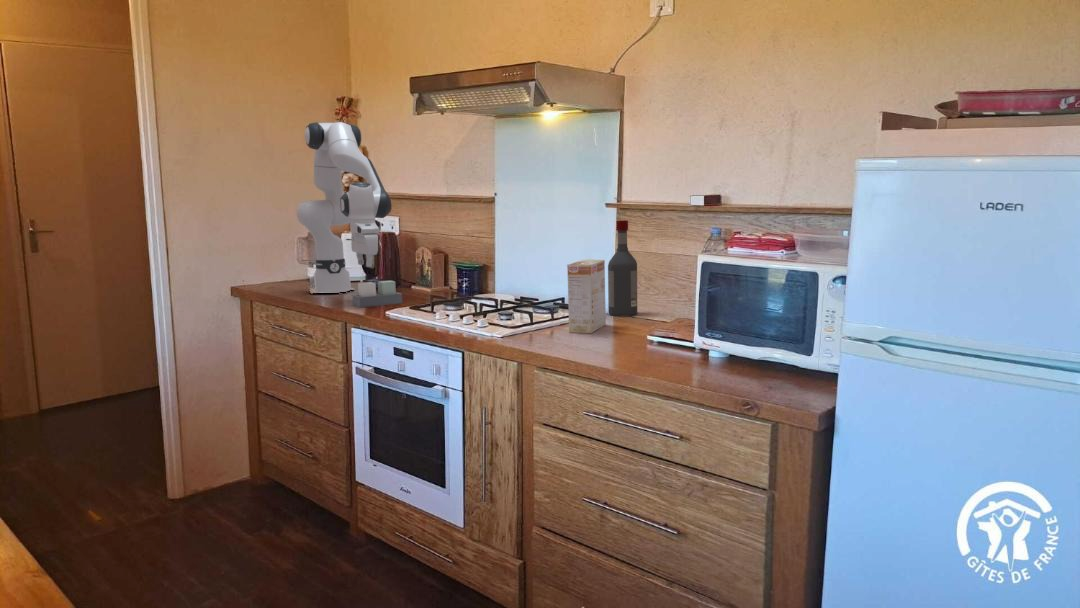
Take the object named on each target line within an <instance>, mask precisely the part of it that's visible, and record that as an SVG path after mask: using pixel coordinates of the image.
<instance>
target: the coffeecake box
mask: <svg viewBox="0 0 1080 608" xmlns="http://www.w3.org/2000/svg"><path fill="white" fill-rule="evenodd" d="M605 260H606V259H589V258H588V259H587V258H586V259H581V260H578V261H575V262H571V263H569V264H566V267H567V297H568V304H567V305H568V333H572V334H573V333H575V334H592V333H594V332H595V331H597V330H599V329H601V328H603V327H604V326H606V325H607V321H606V317H607V316H606V275H605V274H606V271H605V269H606V267H605V266H606V265H605V263H606V262H605Z"/></svg>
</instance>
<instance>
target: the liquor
mask: <svg viewBox="0 0 1080 608" xmlns="http://www.w3.org/2000/svg"><path fill="white" fill-rule="evenodd" d="M615 222H616V224H615V225H616V226H615V227H616V231H617V248H616V252H615V253H614V254H613V255H612V257H611V258H610V260H609V261H608V263H607V264H608V265H607V291H608V292H607V295H608V299H607V301H608V308H607V309H608V314H609V316H613V317H632V316H637V314H638V262H637V260H636V258H635V257H634V256H633V255H632V254H631V252H630V251H629V248H628V231H629V220H616V221H615Z"/></svg>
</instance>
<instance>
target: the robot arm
mask: <svg viewBox="0 0 1080 608" xmlns="http://www.w3.org/2000/svg"><path fill="white" fill-rule="evenodd" d="M304 141H305V144H306V145H307V146H308V148H310V149H312V150H314V156H313V184H314V185H315V187H316V189H318V190H320V191H322V192H323V193H324V197H325V199H312V200H308V201H304V202H301V203H299V205H298V207H297V209H296V217H297V220H298V222H299V223H300V224H301V225H302V226H304V227H305V228H306V229H307V230H308V231H309V233H310V234H311V236H312V238H313V241H314V246H315V254H316V260H315V272H314V274H313V276H311V278H309V284H310V285H311V286H312V287H311V288H315V291H318V292H341V291H348V290H350V289H354V290H355V288H354V287H352V285H351V277H350V272H349V270H347V268H346V259H345V258H344V256H345V255H344V243H343V240H342V239H341V237H339V236H338V235H335V234H334V233H333V232H332V230H331V227H335V226H336V227H337V226H339V227H340V226H346V225H350V233H351V235H350V236H351V237H350V241H351V243H350V245H351V247H350V248H351V251H352V252H354V253H355V254H356V258H357V264H358V265H360V266H361V265H362V266H363V265H364V264H365V267H367V268H372V267H373V260H374V256H376V255H378V253H379V233H380V228H379V226H378V225H377V223H376V219H384V218H385V217H387V216H388V215H389V214H390V213H391V211H392V207H393V206H392V201H391V197H390V195H389V194H388V192H387V191H386V189H385V188H384V185H383V183H382V181H381V179H380V176H379V174H378V172H377V169H376V168H375V166H374V164H373V161H371V159H370V158H368V157H367V156H366V155H364V154H363V152H361V150H360V147H361V143H362V131H361V129H360V127H359V126H357V125H355V124H350V123H349V124H348V123H346V122H341V121H337V122H317V121H316V122H311V123H309V124H308V125H306V126H305V130H304ZM342 172H345V173H350V174H354V175H357V176H359V177H361V178H363V179H364V180H365V181H366V182H364V181H355V182H352V183H350V184H349V190H348V191H347V192H345V190H344V187H343V177H342V176H343V175H342ZM363 255H365V258H366V261H365V260H364V256H363Z"/></svg>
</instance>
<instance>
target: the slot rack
mask: <svg viewBox="0 0 1080 608" xmlns="http://www.w3.org/2000/svg"><path fill="white" fill-rule="evenodd" d="M398 304H403V294H402V292H399V291H398V292H397V291H396V294H390V295H379V294H378V292H376V296H368V297H360V296H359V294H352V306H355V307H358V308H368V307H369V308H370V307H377V306H387V305H398Z"/></svg>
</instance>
